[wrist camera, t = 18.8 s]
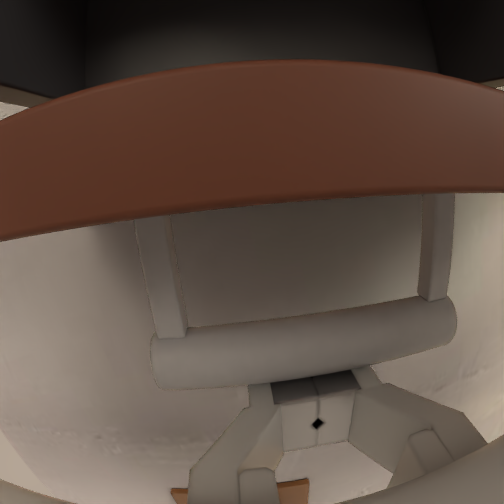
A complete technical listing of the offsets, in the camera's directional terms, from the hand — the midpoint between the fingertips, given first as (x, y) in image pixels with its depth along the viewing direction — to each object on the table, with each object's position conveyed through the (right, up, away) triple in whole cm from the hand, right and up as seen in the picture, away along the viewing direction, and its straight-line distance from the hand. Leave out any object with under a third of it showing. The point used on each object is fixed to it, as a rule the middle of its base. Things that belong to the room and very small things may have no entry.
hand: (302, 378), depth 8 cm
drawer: (-1, +10, 0) cm, 10 cm away
